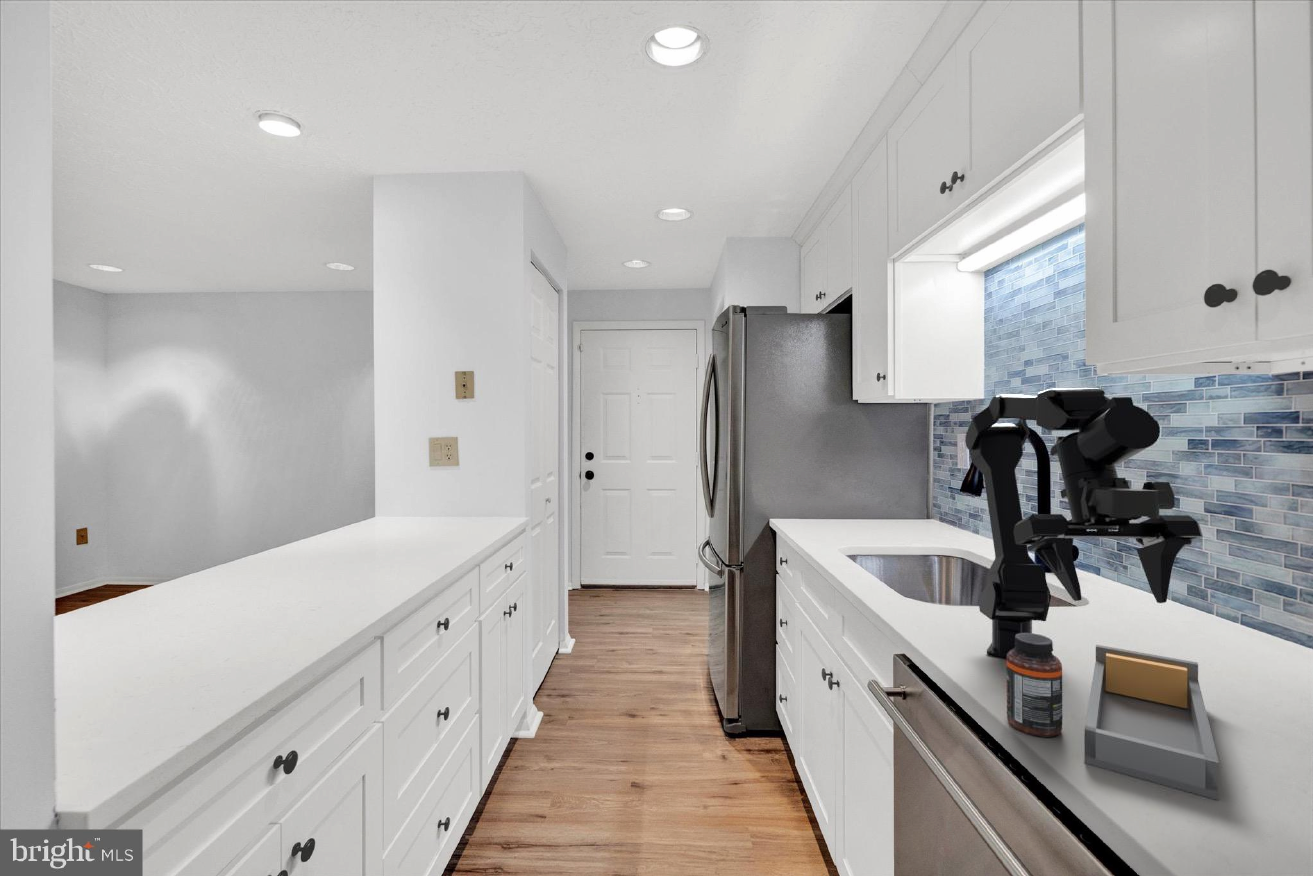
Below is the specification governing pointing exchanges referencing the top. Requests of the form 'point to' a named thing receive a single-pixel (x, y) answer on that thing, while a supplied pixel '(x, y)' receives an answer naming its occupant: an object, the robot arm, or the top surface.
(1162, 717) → the tray
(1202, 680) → the top surface
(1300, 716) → the top surface
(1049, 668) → the supplement bottle
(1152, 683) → the pusher
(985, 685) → the top surface
